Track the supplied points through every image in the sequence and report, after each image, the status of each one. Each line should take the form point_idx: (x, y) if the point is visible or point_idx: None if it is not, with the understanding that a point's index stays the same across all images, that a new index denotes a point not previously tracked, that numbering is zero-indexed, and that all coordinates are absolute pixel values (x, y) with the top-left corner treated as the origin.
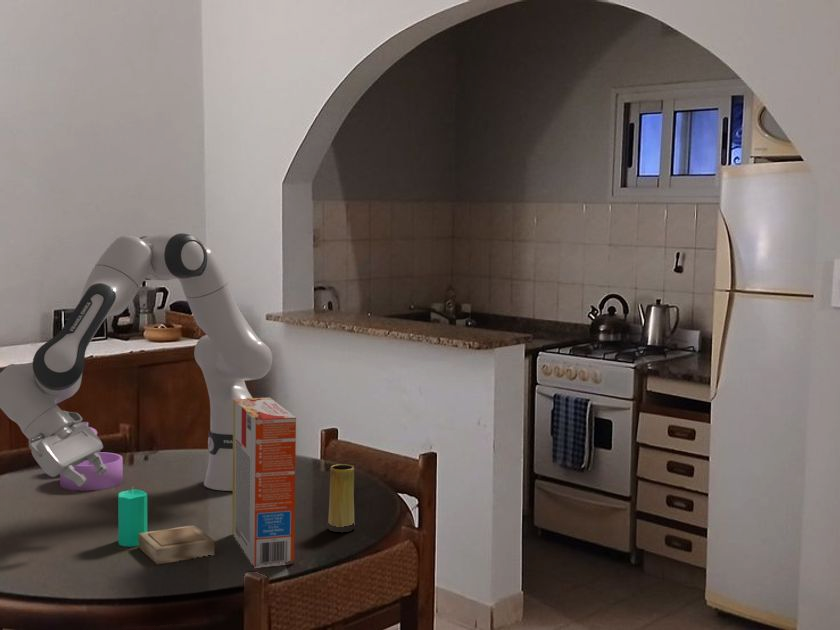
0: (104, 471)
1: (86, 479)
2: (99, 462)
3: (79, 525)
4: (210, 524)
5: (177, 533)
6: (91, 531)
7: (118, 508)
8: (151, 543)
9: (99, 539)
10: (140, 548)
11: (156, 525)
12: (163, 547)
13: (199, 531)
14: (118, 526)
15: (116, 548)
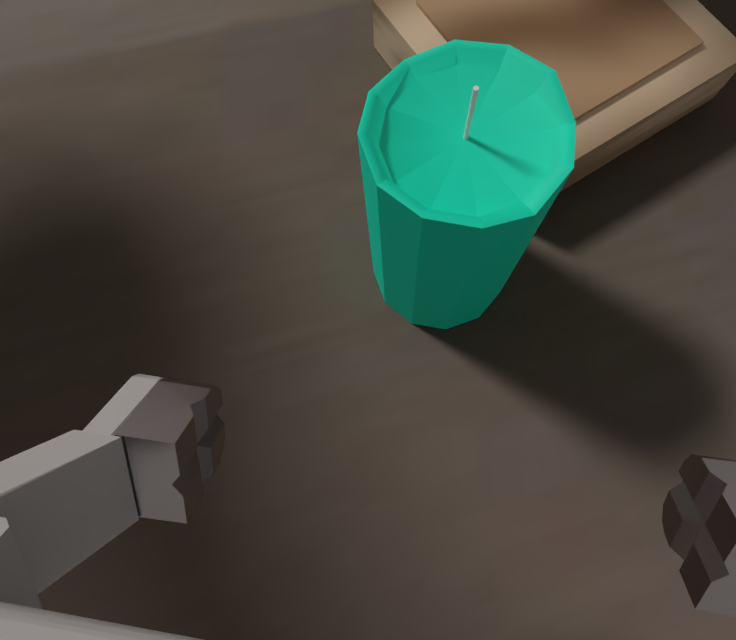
0: (213, 388)
1: (721, 458)
2: (85, 472)
3: (180, 619)
4: (180, 31)
5: (520, 23)
6: (286, 515)
7: (484, 263)
8: (670, 95)
9: (414, 431)
10: None
11: (189, 231)
12: (712, 36)
13: None
14: (462, 303)
15: (537, 311)
